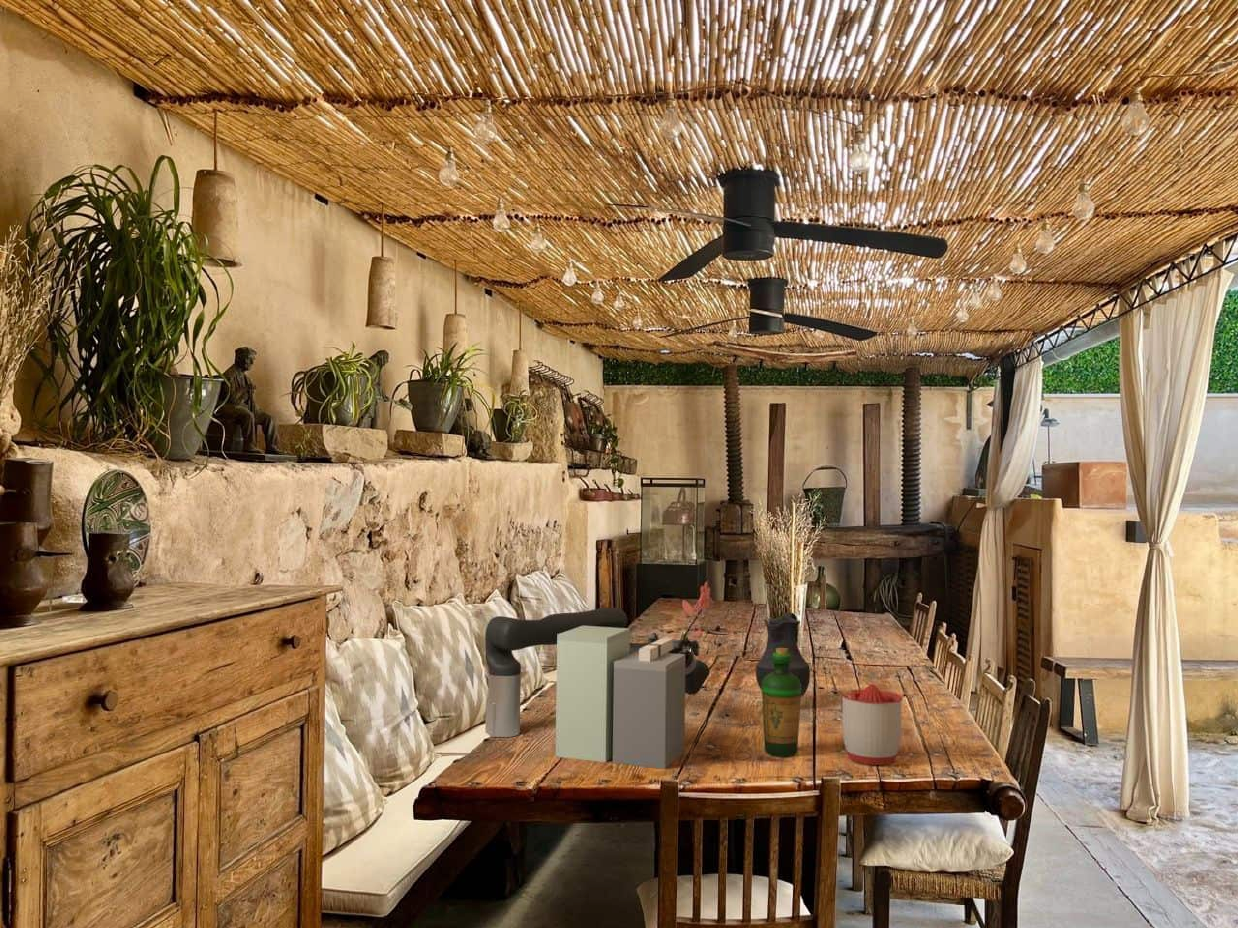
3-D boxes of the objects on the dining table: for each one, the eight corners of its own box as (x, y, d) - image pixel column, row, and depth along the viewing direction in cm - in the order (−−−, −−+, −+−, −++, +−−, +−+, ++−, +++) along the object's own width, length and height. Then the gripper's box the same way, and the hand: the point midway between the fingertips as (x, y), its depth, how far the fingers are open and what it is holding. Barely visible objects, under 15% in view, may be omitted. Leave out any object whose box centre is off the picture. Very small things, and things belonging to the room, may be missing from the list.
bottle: (770, 759, 255) (771, 652, 256) (754, 749, 265) (755, 646, 266) (807, 757, 258) (808, 651, 259) (790, 746, 268) (791, 645, 269)
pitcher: (748, 709, 314) (749, 615, 314) (769, 697, 332) (770, 609, 333) (800, 715, 305) (801, 619, 306) (819, 703, 324) (820, 612, 325)
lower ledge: (635, 745, 267) (636, 650, 268) (684, 751, 262) (685, 654, 263) (612, 762, 250) (614, 661, 251) (664, 768, 246) (666, 665, 246)
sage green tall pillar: (581, 740, 273) (582, 625, 273) (628, 745, 268) (629, 628, 269) (555, 756, 256) (557, 634, 256) (605, 762, 251) (607, 637, 252)
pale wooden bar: (664, 647, 274) (664, 636, 274) (674, 648, 273) (674, 637, 273) (638, 660, 253) (639, 648, 253) (650, 661, 252) (650, 649, 252)
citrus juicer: (851, 747, 268) (851, 674, 269) (911, 759, 257) (912, 683, 258) (824, 759, 256) (825, 683, 257) (886, 772, 245) (887, 692, 246)
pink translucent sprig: (675, 676, 366) (678, 583, 367) (696, 665, 390) (699, 578, 390) (714, 681, 360) (717, 586, 361) (733, 669, 384) (736, 580, 385)
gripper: (660, 643, 289) (645, 622, 276) (706, 647, 284) (694, 625, 271) (656, 668, 285) (641, 647, 272) (703, 671, 280) (690, 651, 267)
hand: (667, 636), depth 272 cm, fingers open, 8 cm apart
